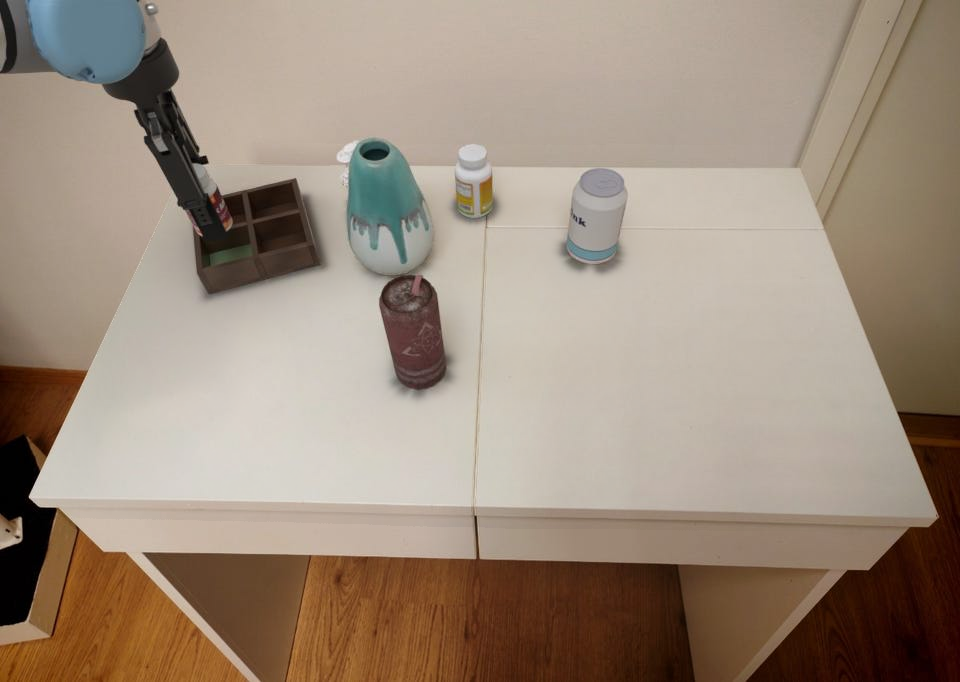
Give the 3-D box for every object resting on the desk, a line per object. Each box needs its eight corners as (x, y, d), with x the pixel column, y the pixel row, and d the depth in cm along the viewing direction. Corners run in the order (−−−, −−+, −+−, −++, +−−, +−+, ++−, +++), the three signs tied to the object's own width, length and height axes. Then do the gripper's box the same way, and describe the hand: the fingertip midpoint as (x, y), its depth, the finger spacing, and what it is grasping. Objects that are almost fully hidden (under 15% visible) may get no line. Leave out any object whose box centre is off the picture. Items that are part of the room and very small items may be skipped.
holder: (208, 294, 81) (196, 273, 77) (201, 223, 90) (190, 202, 86) (320, 264, 83) (313, 243, 80) (303, 198, 92) (295, 177, 89)
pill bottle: (219, 242, 76) (192, 189, 69) (188, 233, 77) (159, 180, 70) (240, 218, 79) (217, 165, 72) (210, 210, 80) (184, 157, 73)
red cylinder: (452, 353, 73) (444, 274, 62) (438, 395, 70) (427, 320, 59) (405, 345, 74) (389, 265, 63) (389, 386, 71) (369, 310, 59)
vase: (451, 266, 83) (441, 156, 68) (375, 299, 79) (348, 190, 65) (414, 219, 89) (397, 109, 75) (342, 247, 85) (310, 138, 71)
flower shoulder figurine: (373, 227, 88) (357, 158, 78) (346, 228, 88) (328, 159, 78) (378, 189, 93) (364, 120, 84) (353, 189, 93) (337, 121, 84)
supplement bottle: (490, 193, 92) (489, 138, 84) (495, 216, 89) (494, 161, 81) (455, 197, 91) (451, 142, 84) (459, 220, 88) (455, 165, 81)
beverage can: (559, 240, 85) (566, 170, 76) (604, 230, 86) (617, 160, 76) (575, 273, 81) (585, 204, 71) (623, 263, 82) (639, 193, 72)
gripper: (167, 82, 55) (252, 262, 73) (162, 2, 65) (237, 178, 83) (80, 99, 53) (189, 278, 72) (89, 15, 64) (182, 190, 82)
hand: (215, 224), depth 78 cm, fingers closed on pill bottle, 5 cm apart
